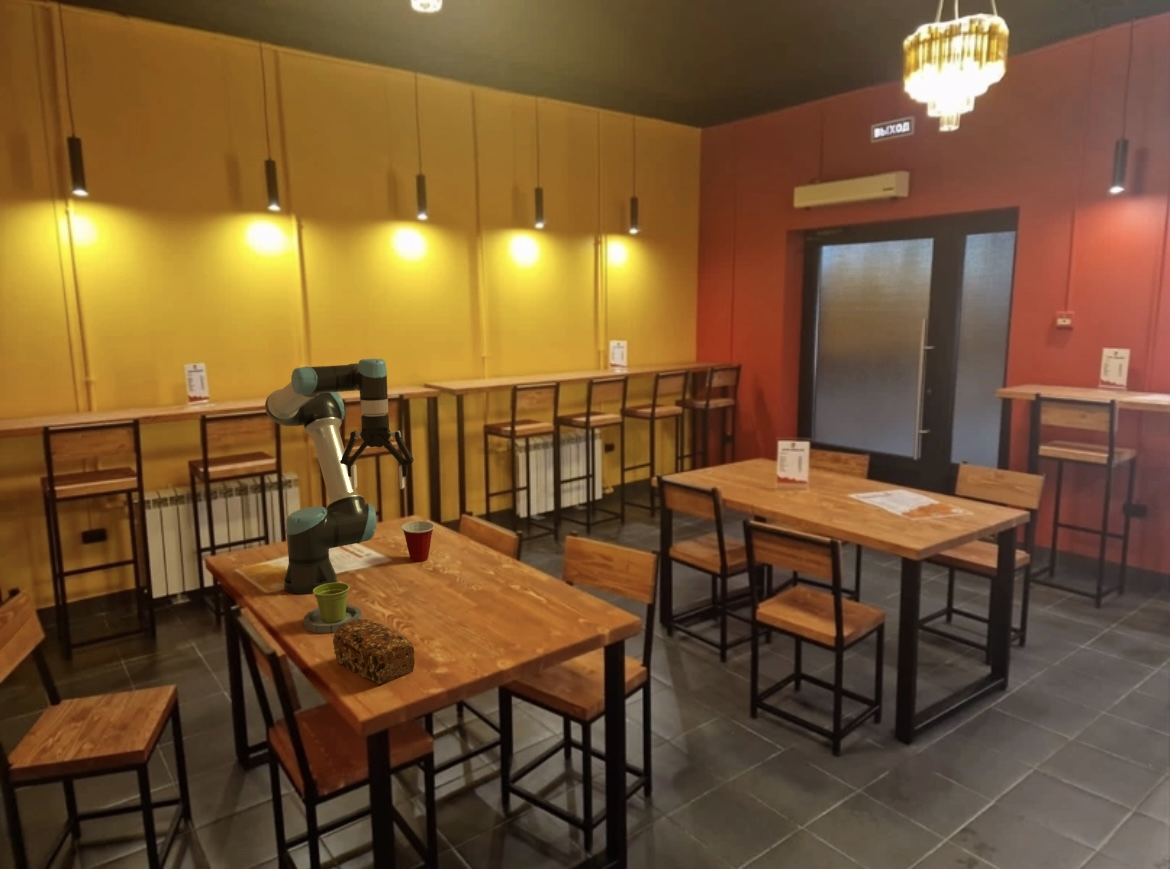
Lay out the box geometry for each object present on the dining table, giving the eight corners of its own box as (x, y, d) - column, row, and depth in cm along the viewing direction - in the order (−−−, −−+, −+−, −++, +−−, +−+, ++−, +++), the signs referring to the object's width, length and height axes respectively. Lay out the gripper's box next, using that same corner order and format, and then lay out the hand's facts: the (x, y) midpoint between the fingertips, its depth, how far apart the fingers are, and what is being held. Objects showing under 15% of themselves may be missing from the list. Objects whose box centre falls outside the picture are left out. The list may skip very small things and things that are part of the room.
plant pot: (309, 626, 207) (307, 594, 205) (321, 612, 216) (319, 582, 215) (345, 626, 207) (343, 594, 205) (355, 612, 216) (353, 582, 215)
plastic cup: (408, 567, 255) (407, 531, 253) (398, 558, 265) (397, 523, 263) (440, 561, 261) (439, 526, 259) (429, 552, 270) (428, 519, 268)
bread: (333, 664, 187) (330, 624, 185) (371, 649, 195) (369, 611, 193) (378, 688, 175) (376, 646, 173) (417, 671, 183) (415, 631, 181)
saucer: (296, 633, 204) (296, 625, 204) (315, 611, 219) (315, 604, 218) (351, 632, 204) (351, 625, 204) (367, 611, 218) (366, 604, 218)
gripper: (421, 412, 224) (424, 484, 227) (334, 412, 224) (339, 485, 228) (416, 415, 216) (419, 490, 220) (326, 416, 217) (330, 491, 220)
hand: (378, 488), depth 224 cm, fingers open, 13 cm apart
